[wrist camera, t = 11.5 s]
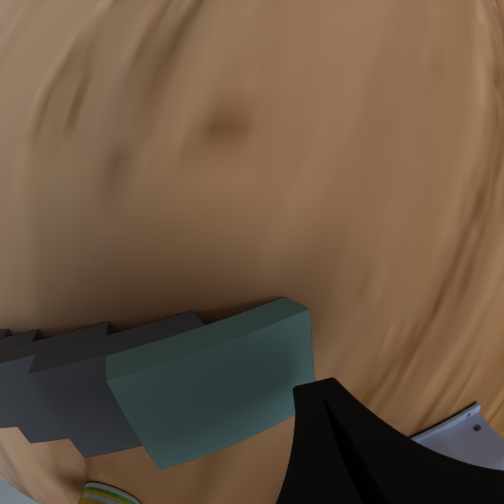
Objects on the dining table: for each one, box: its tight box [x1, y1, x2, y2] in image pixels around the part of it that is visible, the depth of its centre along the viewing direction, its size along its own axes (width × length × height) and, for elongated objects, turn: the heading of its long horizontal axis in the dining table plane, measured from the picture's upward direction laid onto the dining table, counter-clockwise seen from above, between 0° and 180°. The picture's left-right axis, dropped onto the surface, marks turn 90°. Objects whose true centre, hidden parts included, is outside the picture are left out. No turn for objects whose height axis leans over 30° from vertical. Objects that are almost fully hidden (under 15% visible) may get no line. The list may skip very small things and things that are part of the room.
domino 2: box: [0, 321, 113, 443], centre depth 10 cm, size 2×5×7 cm
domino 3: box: [28, 310, 205, 458], centre depth 10 cm, size 2×5×7 cm
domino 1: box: [0, 329, 42, 428], centre depth 10 cm, size 2×5×7 cm
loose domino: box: [106, 297, 315, 470], centre depth 10 cm, size 2×5×7 cm
